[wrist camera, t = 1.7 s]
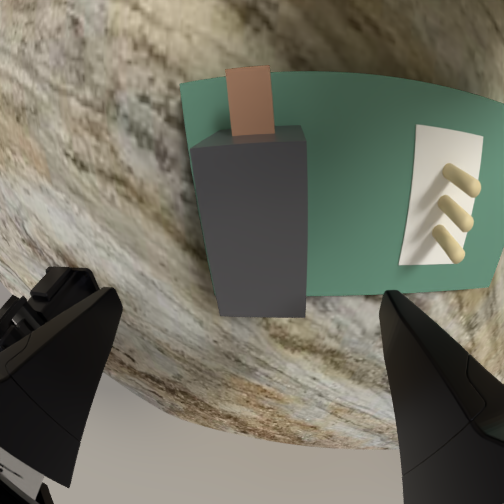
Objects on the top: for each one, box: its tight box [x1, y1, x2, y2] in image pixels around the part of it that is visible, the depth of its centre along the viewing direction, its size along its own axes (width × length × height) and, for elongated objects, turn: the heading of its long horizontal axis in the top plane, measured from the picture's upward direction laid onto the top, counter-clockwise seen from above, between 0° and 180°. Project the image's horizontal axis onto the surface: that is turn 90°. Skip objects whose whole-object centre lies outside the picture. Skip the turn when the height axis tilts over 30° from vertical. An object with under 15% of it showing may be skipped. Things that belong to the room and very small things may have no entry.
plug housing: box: [190, 65, 308, 318], centre depth 13 cm, size 11×4×5 cm, turn 5°
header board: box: [180, 71, 504, 296], centre depth 14 cm, size 14×22×4 cm, turn 95°
